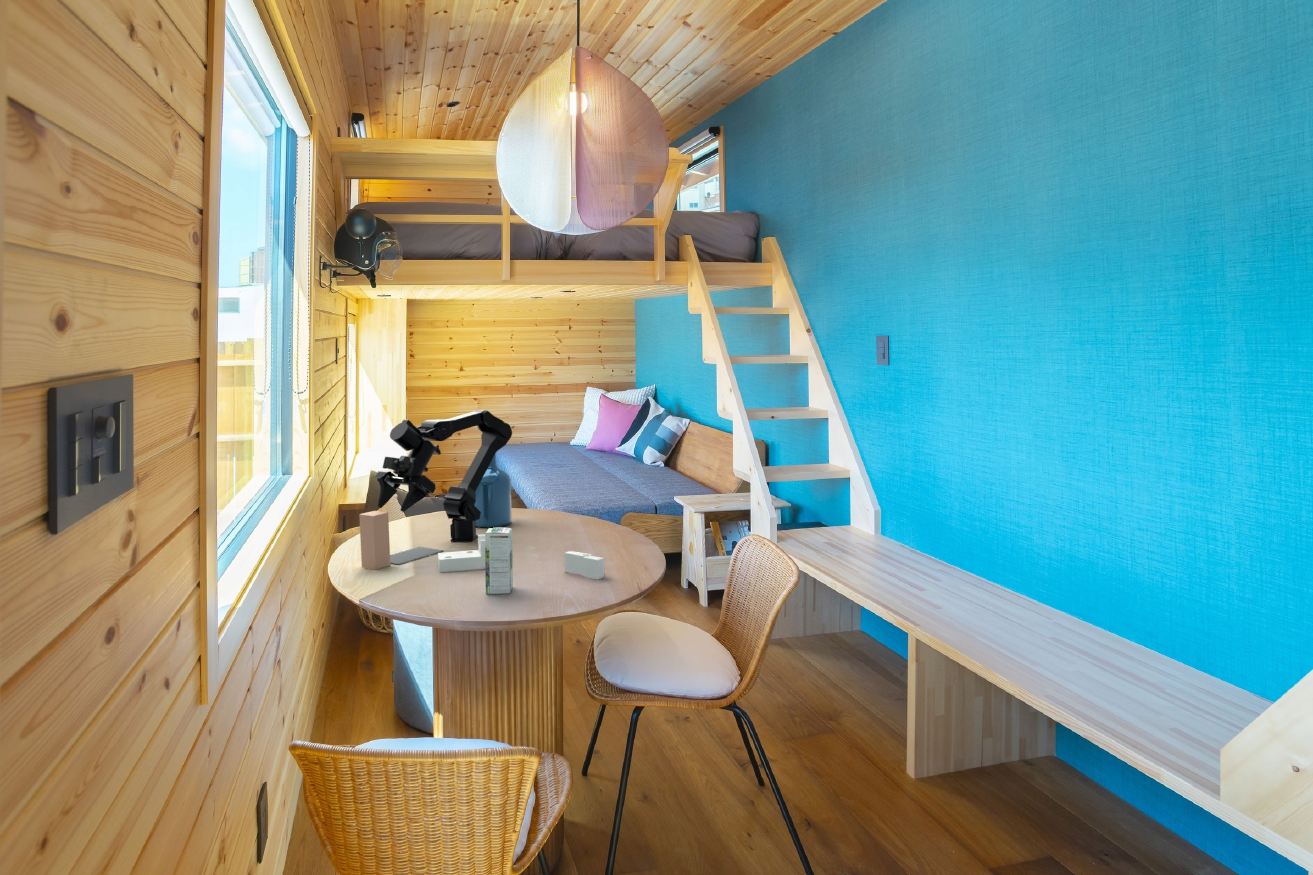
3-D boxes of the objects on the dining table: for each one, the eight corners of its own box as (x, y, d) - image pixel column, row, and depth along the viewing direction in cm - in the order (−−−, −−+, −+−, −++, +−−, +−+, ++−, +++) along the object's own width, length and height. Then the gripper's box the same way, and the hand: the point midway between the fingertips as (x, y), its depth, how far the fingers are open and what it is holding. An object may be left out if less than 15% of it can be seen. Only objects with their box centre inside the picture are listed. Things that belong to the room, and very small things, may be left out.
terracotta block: (376, 562, 216) (374, 510, 214) (390, 565, 214) (388, 512, 212) (361, 567, 212) (359, 514, 210) (375, 569, 209) (372, 516, 208)
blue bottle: (472, 520, 268) (469, 429, 264) (513, 519, 269) (511, 428, 266) (467, 529, 254) (464, 433, 251) (510, 528, 256) (507, 433, 252)
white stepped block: (555, 571, 209) (554, 549, 208) (598, 567, 212) (598, 545, 212) (568, 587, 195) (567, 564, 194) (614, 582, 198) (613, 559, 198)
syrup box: (488, 587, 193) (486, 527, 192) (513, 586, 194) (512, 526, 192) (485, 594, 188) (483, 532, 186) (511, 593, 188) (509, 532, 187)
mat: (419, 547, 232) (419, 546, 232) (443, 551, 227) (443, 550, 227) (374, 560, 218) (374, 559, 218) (398, 565, 213) (398, 563, 213)
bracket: (488, 562, 217) (487, 534, 216) (491, 568, 210) (490, 540, 210) (438, 566, 213) (437, 537, 212) (439, 573, 207) (438, 544, 206)
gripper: (376, 441, 224) (347, 490, 218) (421, 446, 214) (393, 497, 207) (402, 463, 232) (375, 511, 226) (448, 468, 222) (421, 518, 215)
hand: (390, 509), depth 218 cm, fingers open, 9 cm apart
